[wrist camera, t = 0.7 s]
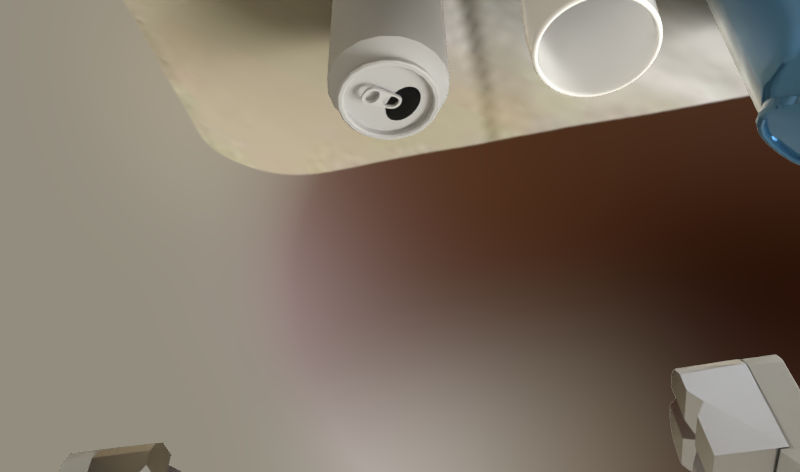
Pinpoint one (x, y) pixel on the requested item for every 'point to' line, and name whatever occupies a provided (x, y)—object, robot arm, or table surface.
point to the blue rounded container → (767, 64)
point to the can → (388, 65)
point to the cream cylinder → (591, 42)
